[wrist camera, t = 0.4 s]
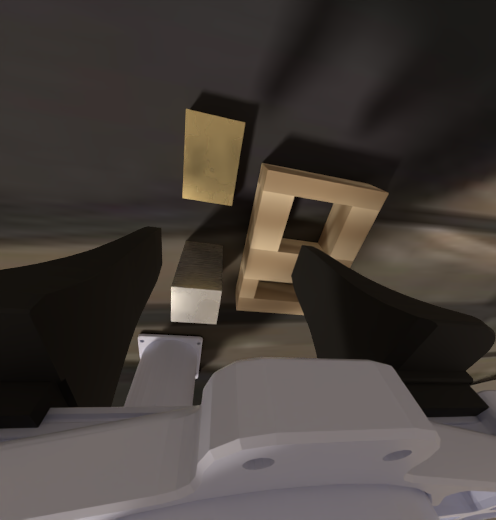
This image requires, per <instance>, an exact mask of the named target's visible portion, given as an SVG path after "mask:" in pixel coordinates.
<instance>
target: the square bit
mask: <svg viewBox="0 0 496 520" xmlns="http://www.w3.org/2000/svg"><path fill="white" fill-rule="evenodd" d="M222 258H223V245H217V244H209V243H201V242H193V241H186V242H185V245H184V248H183V251H182V255H181V258H180V261H179V264H178V267H177V270H176V273H175V277H174V280H173V283H172V286H171V322H187V323H204V324H217V318H218V312H219V306H220V300H221V294H222Z"/></svg>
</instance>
